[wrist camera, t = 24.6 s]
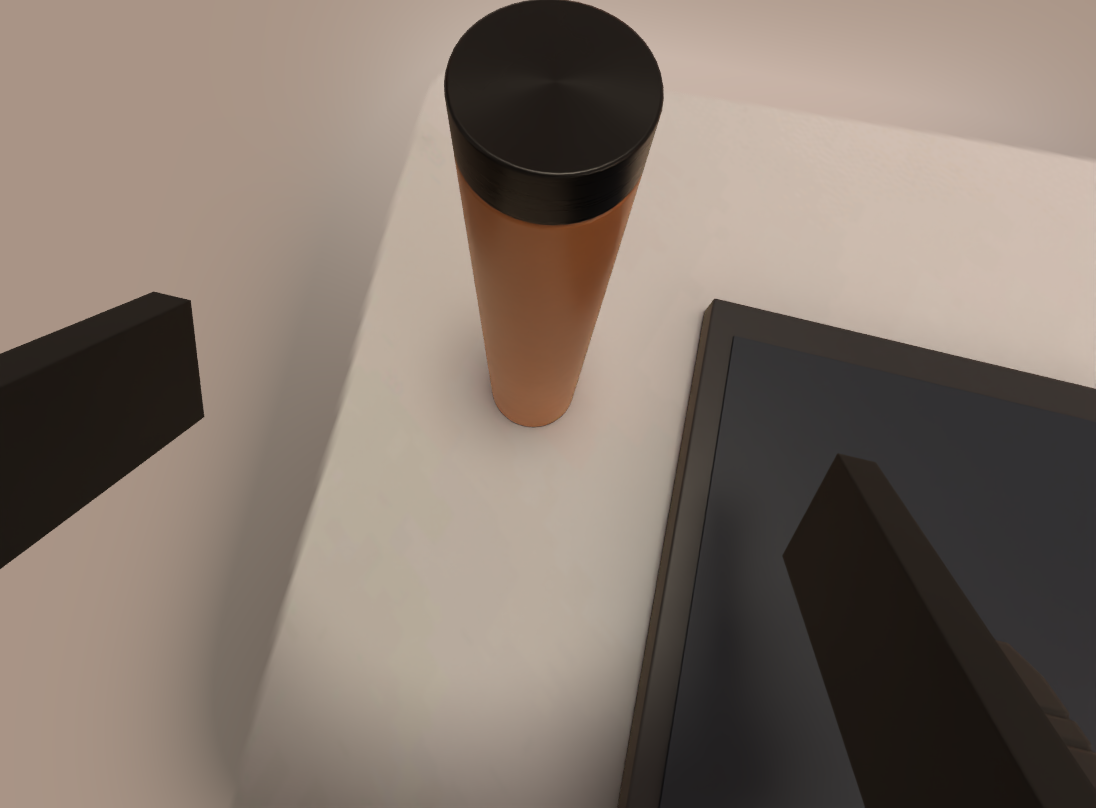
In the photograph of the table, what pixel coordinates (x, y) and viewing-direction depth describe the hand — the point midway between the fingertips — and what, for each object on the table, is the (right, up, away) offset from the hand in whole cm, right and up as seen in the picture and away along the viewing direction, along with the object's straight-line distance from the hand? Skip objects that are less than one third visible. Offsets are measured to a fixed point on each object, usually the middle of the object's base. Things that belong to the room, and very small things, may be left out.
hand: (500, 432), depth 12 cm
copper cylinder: (0, +1, +7) cm, 7 cm away
